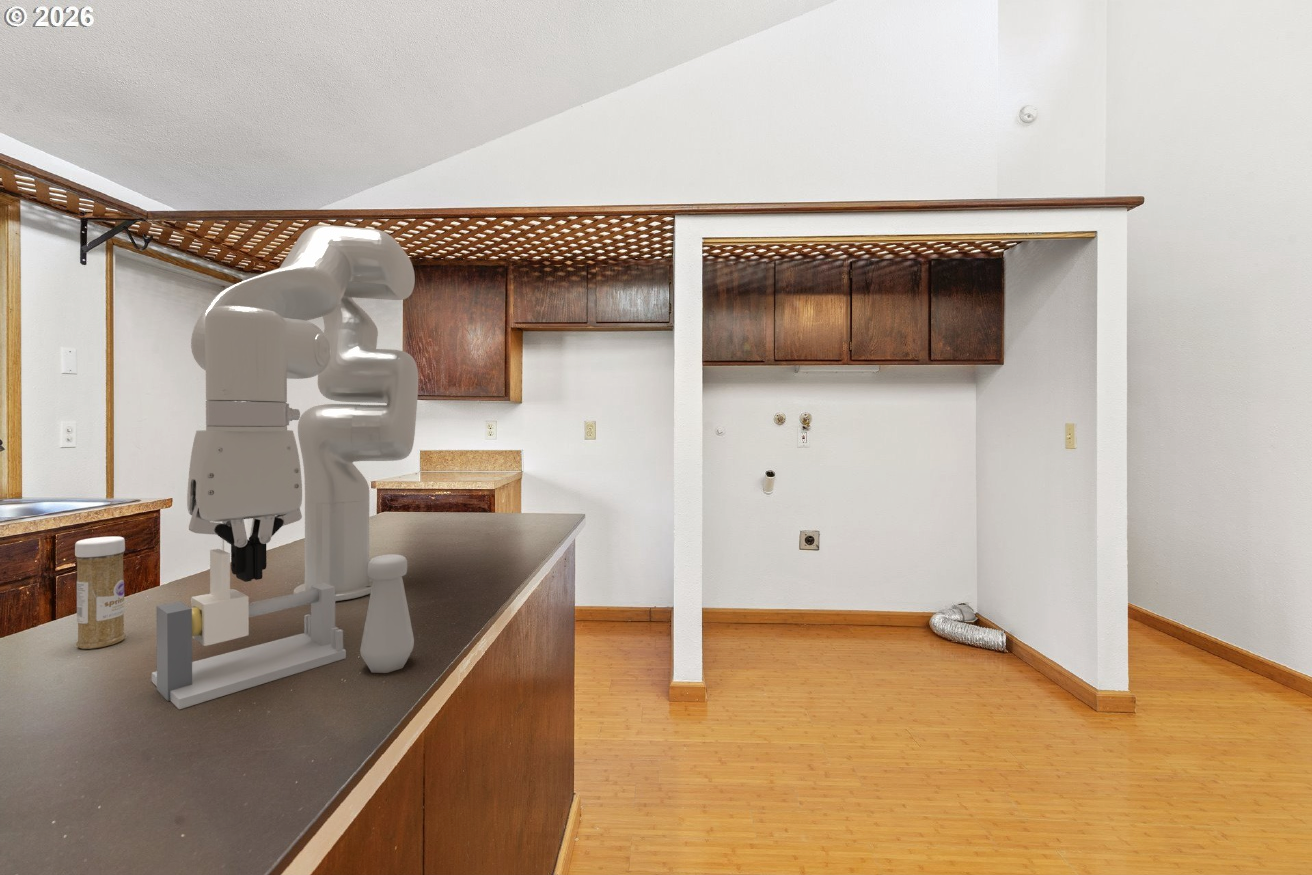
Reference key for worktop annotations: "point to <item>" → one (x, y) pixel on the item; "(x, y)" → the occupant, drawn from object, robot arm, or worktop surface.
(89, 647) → the sprinkles bottle
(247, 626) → the square collar block
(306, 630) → the slider rail rig
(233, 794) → the worktop surface
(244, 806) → the worktop surface
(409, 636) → the salt shaker
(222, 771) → the worktop surface
